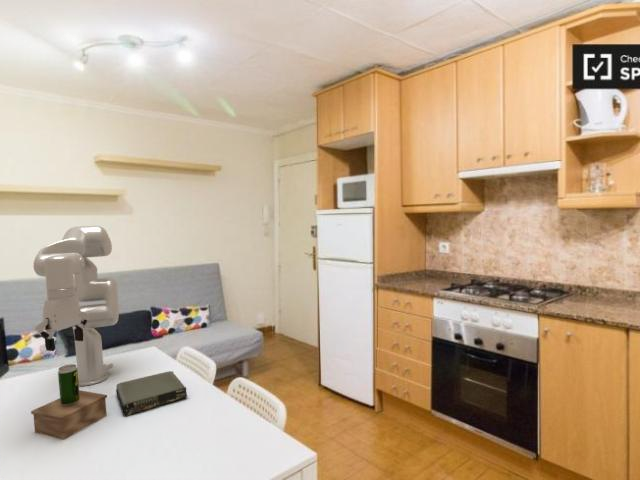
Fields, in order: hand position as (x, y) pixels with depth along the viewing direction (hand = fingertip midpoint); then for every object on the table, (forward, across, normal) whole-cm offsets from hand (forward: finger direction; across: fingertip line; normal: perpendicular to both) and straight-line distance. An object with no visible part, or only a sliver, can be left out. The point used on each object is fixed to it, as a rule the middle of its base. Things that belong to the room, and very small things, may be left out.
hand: (65, 345), depth 129 cm
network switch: (+27, -23, +11) cm, 37 cm away
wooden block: (+26, 0, 0) cm, 26 cm away
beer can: (+20, 0, 0) cm, 20 cm away
